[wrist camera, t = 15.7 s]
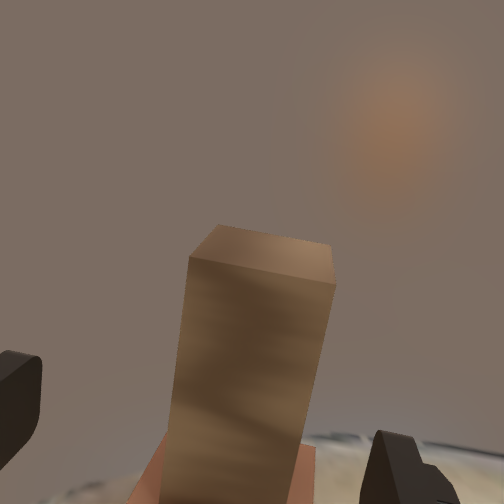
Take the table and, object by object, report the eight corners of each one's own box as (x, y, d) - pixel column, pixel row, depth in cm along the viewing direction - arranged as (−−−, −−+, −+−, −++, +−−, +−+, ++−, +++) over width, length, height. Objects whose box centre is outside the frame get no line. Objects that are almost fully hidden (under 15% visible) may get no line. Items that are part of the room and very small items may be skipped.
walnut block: (285, 450, 21) (330, 245, 18) (278, 536, 17) (336, 284, 14) (189, 429, 22) (218, 224, 19) (157, 507, 17) (189, 256, 14)
